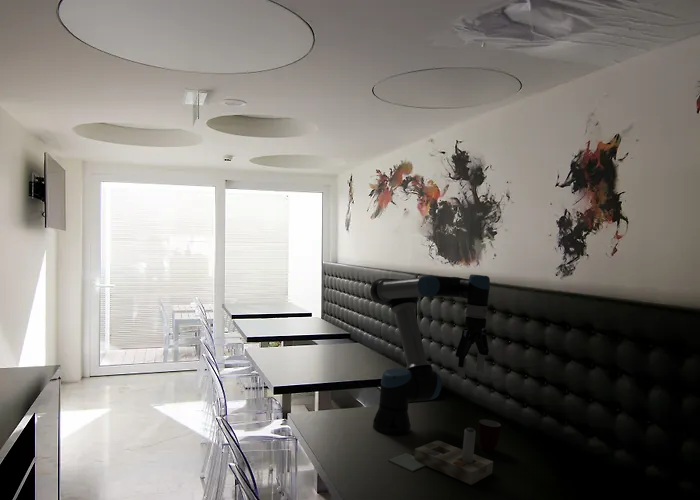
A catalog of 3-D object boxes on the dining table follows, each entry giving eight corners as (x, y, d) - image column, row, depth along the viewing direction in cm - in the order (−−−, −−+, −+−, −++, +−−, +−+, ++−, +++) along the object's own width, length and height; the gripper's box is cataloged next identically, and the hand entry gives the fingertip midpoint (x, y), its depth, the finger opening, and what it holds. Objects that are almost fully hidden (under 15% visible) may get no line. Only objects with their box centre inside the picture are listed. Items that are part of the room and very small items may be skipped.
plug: (458, 472, 166) (462, 428, 166) (464, 469, 169) (468, 426, 169) (468, 476, 163) (472, 431, 163) (473, 473, 166) (477, 429, 166)
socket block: (414, 460, 172) (415, 448, 172) (436, 451, 182) (437, 439, 182) (471, 485, 157) (472, 471, 157) (492, 473, 167) (493, 460, 167)
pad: (388, 460, 170) (388, 459, 170) (405, 454, 177) (405, 452, 177) (412, 471, 163) (412, 470, 163) (429, 464, 170) (429, 462, 170)
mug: (498, 458, 181) (501, 430, 181) (476, 453, 183) (478, 426, 183) (498, 447, 191) (500, 421, 191) (476, 443, 193) (479, 418, 193)
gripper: (467, 319, 173) (462, 380, 173) (501, 317, 191) (495, 372, 191) (449, 316, 178) (443, 375, 178) (483, 314, 196) (478, 367, 196)
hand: (470, 373), depth 185 cm, fingers open, 13 cm apart
